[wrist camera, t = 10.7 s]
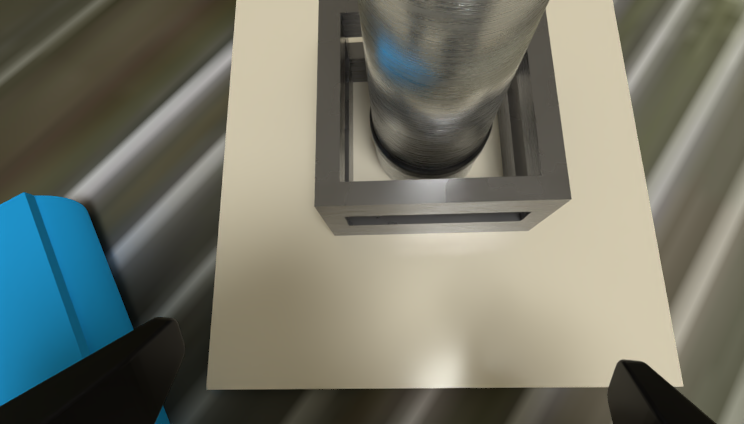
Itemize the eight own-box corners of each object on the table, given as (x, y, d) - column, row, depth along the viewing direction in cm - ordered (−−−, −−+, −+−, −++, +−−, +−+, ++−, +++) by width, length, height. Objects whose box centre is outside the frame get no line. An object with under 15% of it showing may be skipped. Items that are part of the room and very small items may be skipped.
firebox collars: (528, 231, 18) (571, 199, 13) (334, 235, 18) (314, 206, 14) (510, 59, 20) (542, -17, 15) (336, 67, 20) (318, -5, 16)
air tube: (496, 172, 19) (703, -149, 6) (396, 210, 18) (394, -38, 6) (453, 83, 20) (551, -339, 7) (358, 119, 20) (289, -252, 7)
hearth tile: (673, 384, 17) (683, 386, 16) (212, 387, 18) (206, 389, 17) (597, -43, 22) (602, -53, 21) (243, -23, 23) (239, -32, 22)
